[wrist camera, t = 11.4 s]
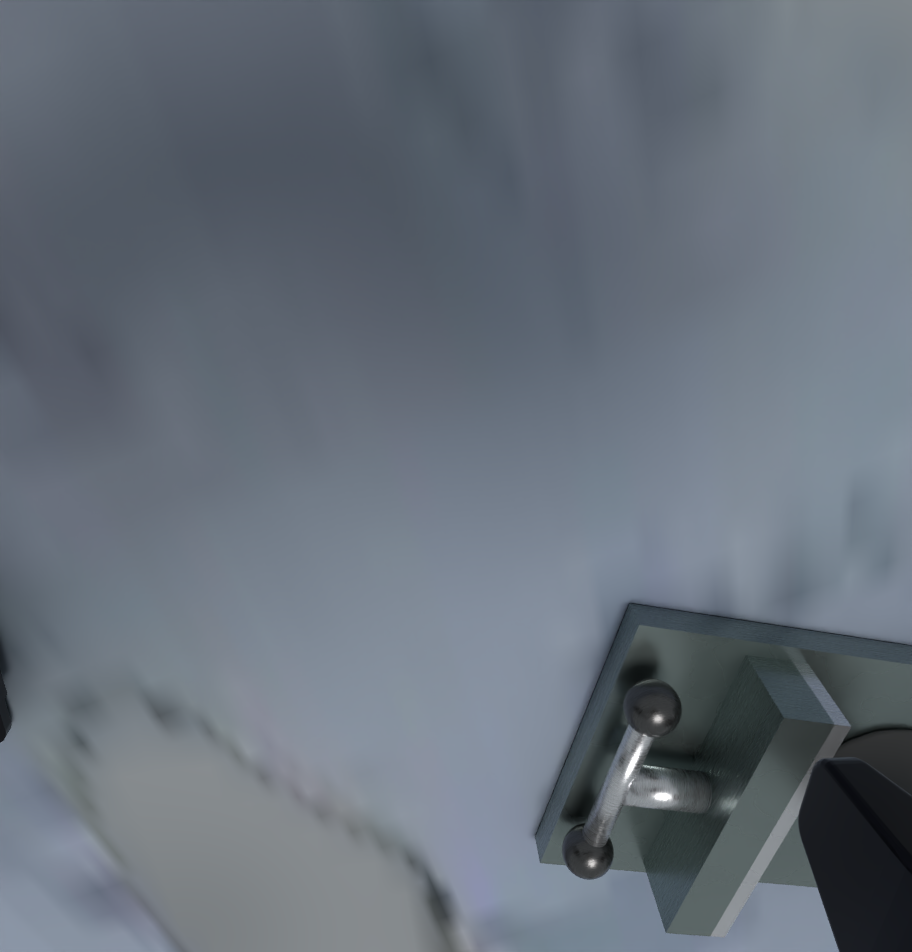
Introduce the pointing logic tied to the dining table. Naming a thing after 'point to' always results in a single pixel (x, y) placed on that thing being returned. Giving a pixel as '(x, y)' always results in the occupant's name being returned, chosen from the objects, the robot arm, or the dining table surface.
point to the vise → (713, 755)
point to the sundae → (884, 754)
